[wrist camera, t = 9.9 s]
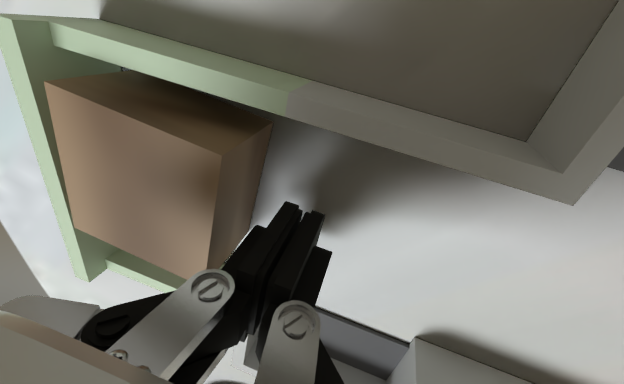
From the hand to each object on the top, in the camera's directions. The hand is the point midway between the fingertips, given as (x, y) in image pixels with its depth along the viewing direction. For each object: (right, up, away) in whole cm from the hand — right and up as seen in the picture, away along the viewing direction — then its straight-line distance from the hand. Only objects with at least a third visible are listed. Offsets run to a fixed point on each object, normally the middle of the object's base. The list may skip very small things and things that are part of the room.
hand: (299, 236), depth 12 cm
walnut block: (-5, +3, +2) cm, 6 cm away
